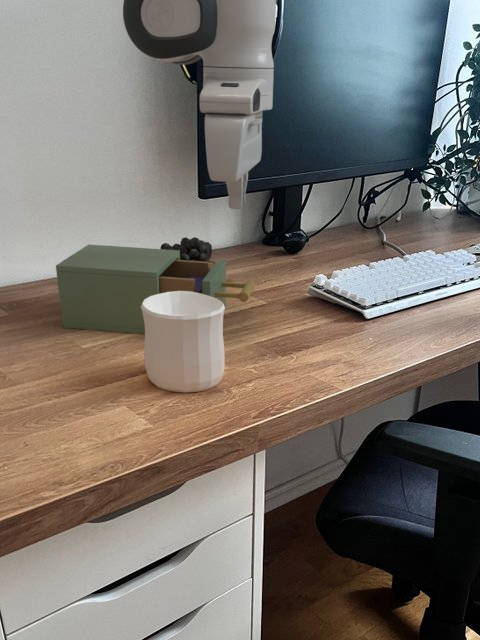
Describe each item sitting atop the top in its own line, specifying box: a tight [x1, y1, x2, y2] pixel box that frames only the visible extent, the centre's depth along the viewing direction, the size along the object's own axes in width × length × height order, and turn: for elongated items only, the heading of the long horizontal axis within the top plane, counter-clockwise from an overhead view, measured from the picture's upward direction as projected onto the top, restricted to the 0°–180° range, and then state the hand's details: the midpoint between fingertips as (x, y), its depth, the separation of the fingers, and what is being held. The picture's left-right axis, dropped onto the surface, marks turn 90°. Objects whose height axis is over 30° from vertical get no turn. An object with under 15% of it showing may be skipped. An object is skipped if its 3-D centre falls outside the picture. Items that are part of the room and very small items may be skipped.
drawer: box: [159, 259, 256, 308], centre depth 102 cm, size 18×11×7 cm, turn 81°
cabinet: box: [55, 243, 180, 335], centre depth 103 cm, size 15×13×9 cm
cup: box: [141, 291, 226, 394], centre depth 84 cm, size 10×10×10 cm
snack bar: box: [190, 277, 204, 294], centre depth 102 cm, size 7×4×3 cm
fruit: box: [159, 236, 216, 272], centre depth 117 cm, size 9×8×15 cm
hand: (237, 207), depth 94 cm, fingers closed
